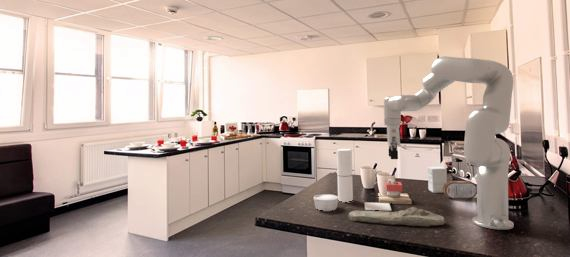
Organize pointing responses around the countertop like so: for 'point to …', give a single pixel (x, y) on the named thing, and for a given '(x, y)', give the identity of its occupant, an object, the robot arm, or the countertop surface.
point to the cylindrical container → (344, 175)
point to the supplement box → (437, 179)
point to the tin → (460, 189)
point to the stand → (395, 197)
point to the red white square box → (394, 187)
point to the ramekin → (326, 202)
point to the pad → (378, 206)
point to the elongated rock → (399, 217)
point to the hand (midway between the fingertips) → (393, 157)
